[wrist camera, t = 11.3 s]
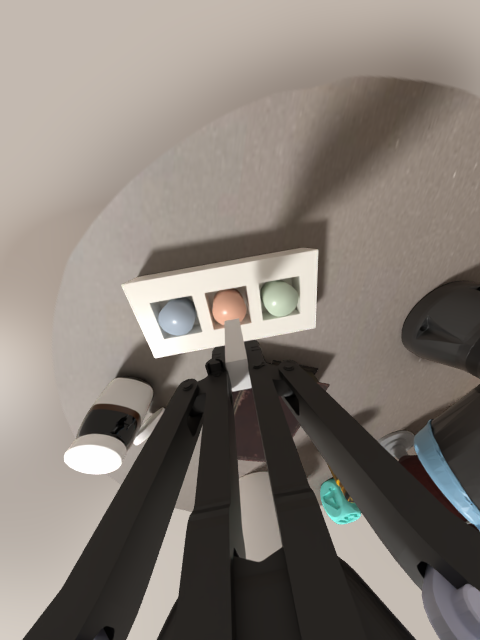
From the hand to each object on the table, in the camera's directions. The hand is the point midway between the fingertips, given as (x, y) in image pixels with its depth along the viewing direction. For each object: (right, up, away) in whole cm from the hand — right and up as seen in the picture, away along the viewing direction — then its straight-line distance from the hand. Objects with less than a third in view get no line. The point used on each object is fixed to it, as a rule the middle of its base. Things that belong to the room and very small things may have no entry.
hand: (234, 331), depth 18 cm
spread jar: (-18, -14, +16) cm, 28 cm away
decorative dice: (+31, -53, +41) cm, 74 cm away
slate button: (-8, +3, +8) cm, 11 cm away
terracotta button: (-1, +4, +8) cm, 9 cm away
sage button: (+6, +5, +8) cm, 11 cm away
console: (-1, +5, +9) cm, 11 cm away
